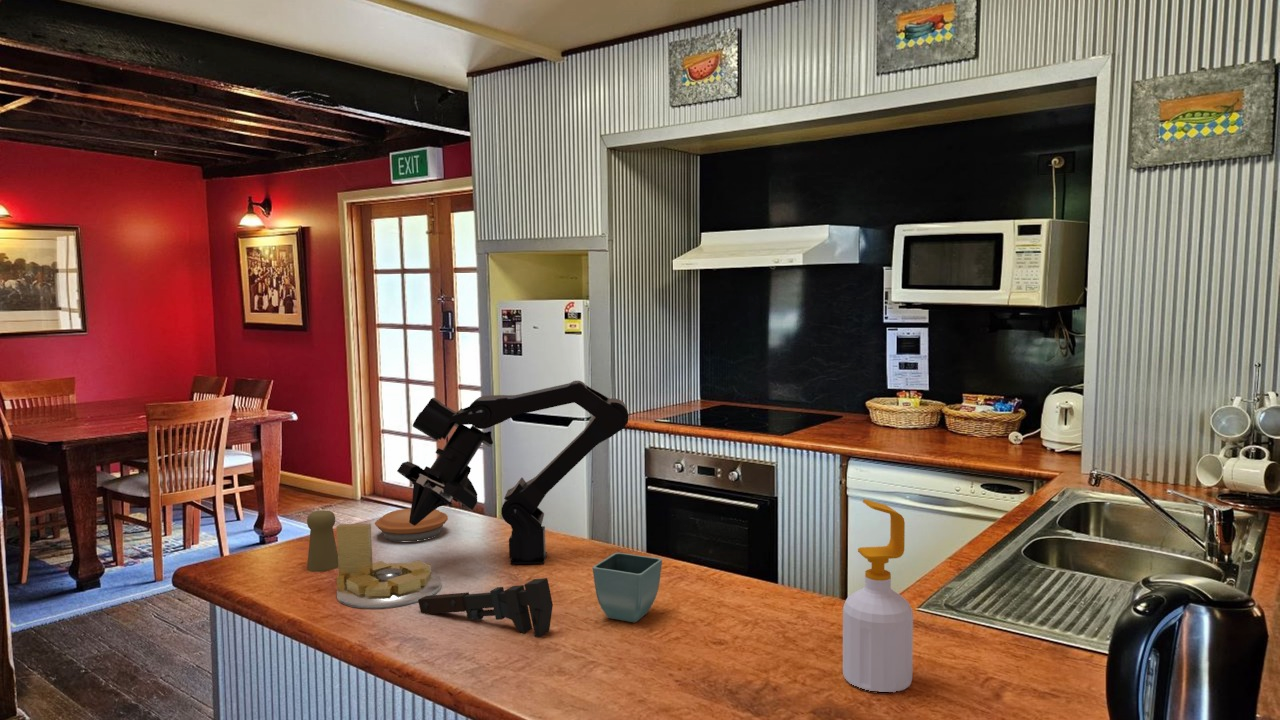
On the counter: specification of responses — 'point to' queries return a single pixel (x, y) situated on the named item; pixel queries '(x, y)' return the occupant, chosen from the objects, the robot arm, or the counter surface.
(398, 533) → the pie
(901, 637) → the soap bottle
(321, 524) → the olive pepper mill
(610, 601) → the flower pot
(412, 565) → the tan block ring
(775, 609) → the counter surface
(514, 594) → the adjustable wrench
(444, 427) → the robot arm
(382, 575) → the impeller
